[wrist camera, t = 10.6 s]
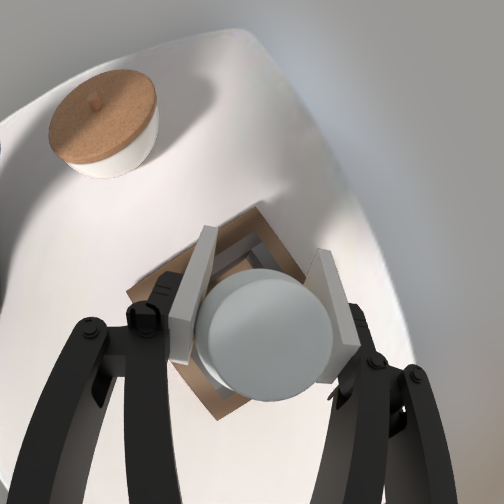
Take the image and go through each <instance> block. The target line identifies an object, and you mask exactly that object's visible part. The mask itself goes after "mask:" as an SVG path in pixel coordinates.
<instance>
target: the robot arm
mask: <svg viewBox="0 0 504 504" xmlns="http://www.w3.org/2000/svg"><path fill="white" fill-rule="evenodd" d="M0 152H1V145H0ZM217 235H218V228H215V227H210V226H205V225H204V227H203V230H202V232H201V234H200V237H199V239H198V241H197V244H196V246H195V249H194V251H193V254H192V256H191V259H190V261H189V264H188V266H187V269H186V271H185V274H180V273H176V272H171V271H165V272H164V273H163V274H162V275H160V276H159V277H158V279H157V281H156V283H155V286H154V287H153V289H152V293H151V294H150V296H149V298H148V300H144V301H138V302H135V303H133V304H132V305H131V306H129V307H128V309H127V312H126V318H127V324H128V325H127V326H122V327H107V325H106V324H105V322H104V321H103V320H101V319H99V318H97V317H87V318H84V319H82V320H80V321H79V322H78V323H77V324H76V326H75V327H74V329H73V331H72V333H71V334H70V336H69V338H68V340H67V342H66V344H65V346H64V348H63V349H62V351H61V353H60V355H59V357H58V359H57V361H56V363H55V365H54V367H53V370H52V372H51V374H50V376H49V378H48V380H47V382H46V384H45V387H44V389H43V391H42V393H41V396H40V398H39V400H38V403H37V405H36V408H35V410H34V413H33V415H32V418H31V420H30V423H29V426H28V428H27V431H26V434H25V437H24V440H23V443H22V446H21V449H20V452H19V455H18V459H17V462H16V465H15V469H14V473H13V476H12V480H11V485H10V489H9V493H8V499H7V503H6V504H83V498H84V493H85V489H86V484H87V479H88V475H89V471H90V467H91V463H92V459H93V455H94V451H95V447H96V444H97V440H98V436H99V433H100V429H101V426H102V423H103V419H104V416H105V413H106V410H107V406H108V403H109V400H110V397H111V394H112V391H113V388H114V385H115V382H116V379H117V377H125V385H124V445H125V464H126V477H127V487H128V496H129V504H183V503H182V497H181V492H180V486H179V480H178V474H177V468H176V461H175V454H174V446H173V437H172V428H171V418H170V407H169V394H168V379H167V362H168V359H169V360H170V361H171V362H175V363H180V364H184V365H188V363H189V358H190V354H191V350H192V346H193V342H194V338H195V324H196V319H197V315H198V312H199V309H200V307H201V305H202V303H203V301H204V298H205V295H206V291H207V287H208V283H209V280H210V276H211V272H212V267H213V260H214V254H215V247H216V241H217ZM303 286H304V287H305V288H307V289H308V290H309V291H311V292H312V293H313V294H314V295H315V296H316V297H317V298H318V299H319V300H320V301H321V303H322V304H323V306H324V307H325V309H326V311H327V313H328V315H329V318H330V321H331V324H332V329H333V346H332V352H331V356H330V359H329V362H328V364H327V366H326V368H325V370H324V371H323V373H322V374H321V376H320V377H319V378H318V379H317V381H316V383H326V384H332V383H333V382H334V380H335V379H336V378H337V377H338V382H339V385H338V386H337V387H336V388H335V389H334V391H333V392H332V393H331V394H330V395H329V397H328V399H327V400H330V399H331V398H332V397H333V396H334V397H333V403H332V409H331V415H330V420H329V425H328V431H327V436H326V441H325V445H324V450H323V455H322V459H321V463H320V467H319V471H318V475H317V479H316V483H315V487H314V491H313V494H312V498H311V501H310V504H381V501H382V495H383V488H384V486H385V498H386V504H458V503H457V495H456V488H455V481H454V475H453V470H452V465H451V460H450V455H449V450H448V446H447V442H446V438H445V434H444V430H443V426H442V422H441V419H440V415H439V412H438V408H437V405H436V401H435V398H434V395H433V392H432V389H431V386H430V383H429V380H428V377H427V375H426V373H425V371H424V370H423V369H422V368H421V367H419V366H418V365H414V364H410V365H408V366H407V367H406V368H405V369H404V370H401V369H398V368H395V367H392V366H390V365H388V361H387V360H386V358H385V357H384V356H383V355H382V354H381V353H379V352H377V351H376V349H375V346H374V343H373V340H372V337H371V333H370V330H369V328H368V325H367V322H366V319H365V316H364V313H363V311H362V310H361V309H360V307H359V306H358V305H357V304H352V303H348V301H347V298H346V295H345V292H344V289H343V286H342V283H341V280H340V277H339V274H338V271H337V268H336V265H335V262H334V259H333V257H332V254H331V251H329V250H324V249H320V248H317V251H316V254H315V256H314V259H313V262H312V264H311V267H310V269H309V272H308V275H307V277H306V280H305V282H304V285H303ZM403 406H405V410H406V412H403V409H402V407H403Z"/></svg>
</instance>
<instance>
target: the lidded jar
mask: <svg viewBox="0 0 504 504" xmlns="http://www.w3.org/2000/svg"><path fill="white" fill-rule="evenodd" d="M158 127H159V114H158V106H157V97H156V92H155V88H154V85H153V83H152V81H151V80H150V79H149V78H148V77H147V76H145V75H144V74H142V73H139V72H137V71H132V70H114V71H109V72H105V73H102V74H99V75H97V76H94V77H92V78H90V79H89V80H87V81H85V82H83V83H82V84H80V85H79V86H78V87H76V88H75V89H74V90H73V91H72V92H71V93H69V94H68V95H67V96H66V98H65V99H64V100H63V101H62V102H61V104H60V105H59V106H58V108H57V109H56V111H55V113H54V115H53V117H52V120H51V123H50V127H49V143H50V145H51V148H52V149H53V151H54V152H55V153H56V154H57V156H59V157H60V158H61V159H62V160H64V161H65V162H66V163H67V164H68V165H69V166H70V167H71V168H72V169H74V170H75V171H77V172H78V173H80V174H82V175H84V176H86V177H89V178H93V179H100V180H106V179H113V178H117V177H120V176H123V175H125V174H127V173H129V172H131V171H132V170H134V169H135V168H136V167H138V166H139V165H140V164H141V163H142V162H143V161H144V160H145V159H146V157H147V156H148V154H149V153H150V152H151V150H152V148H153V146H154V143H155V140H156V137H157V134H158Z"/></svg>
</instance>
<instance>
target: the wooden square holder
mask: <svg viewBox="0 0 504 504" xmlns="http://www.w3.org/2000/svg"><path fill="white" fill-rule="evenodd" d="M195 246H196V245H194V246H193V247H191V248H190V249H188V250H187V251H185V252H184V253H182V254H180V255H179V256H177V257H176V258H174V259H173V260H171V261H170V262H168V263H167V264H165V265H164V266H162V267H161V268H159V269H158V270H156V271H155V272H153V273H152V274H151V275H149V276H148V277H146V278H145V279H143V280H142V281H140V282H139V283H137V284H136V285H134V286H133V287H132V288H130V289H129V290H127V291H126V293H127V294H128V296H129V298H130V299H131V301H132V303H135V302H138V301H144V300H148V298H149V296H150V294H151V293H152V289H153V287H154V286H155V283H156V281H157V279H158V277H159V276H160V275H162V274H163V273H164V272H165V271H171V272H176V273H180V274H185V271H186V269H187V266H188V264H189V261H190V259H191V256H192V254H193V251H194V249H195ZM249 269H270V270H275V271H279V272H282V273H284V274H287V275H289V276H291V277H292V278H294V279H295V280H297V281H298V282H300V283H301V284H302V285H304V282H305V280H306V277H305V275H304V274H303V272H302V271H301V269H300V268H299V267H298V265H297V264H296V262H295V261H294V259H293V258H292V257H291V255H290V254H289V252H288V251H287V249H286V248H285V247H284V245H283V244H282V242H281V241H280V240H279V238H278V237H277V235H276V234H275V233H274V231H273V230H272V228H271V227H270V226H269V224H268V223H267V222H266V220H265V219H264V217H263V216H262V215H261V213H260V212H259V211H258V209H257V208H256V207H254V208H253V209H251V210H249V211H248V212H246V213H245V214H243V215H241V216H240V217H238V218H237V219H235V220H233V221H232V222H230V223H229V224H227V225H225V226H224V227H222V228H221V229H219V230H218V235H217V241H216V247H215V254H214V260H213V267H212V272H211V276H210V280H209V283H208V287H207V291H206V295H205V298H206V296H207V295H208V294H209V292H210V291H211V290H212V289H213V288H214V287H215V286H216V285H217V284H218V283H220V282H221V281H222V280H224V279H226V278H227V277H229V276H231V275H233V274H235V273H238V272H241V271H245V270H249ZM205 298H204V299H205ZM171 363H172V364H173V366H174V367H175V368H176V370H177V371H178V372H179V374H180V375H181V376H182V378H183V379H184V380H185V382H186V383H187V384H188V386H189V387H190V388H191V390H192V391H193V392H194V393H195V395H196V396H197V397H198V398H199V400H200V401H201V402H202V403H203V405H204V406H205V407H206V408H207V409H208V411H209V412H210V413H211V414H212V415H213V417H214V418H215V419H216V420H217V421H218V420H219V419H221V418H223V417H224V416H226V415H228V414H229V413H231V412H233V411H234V410H236V409H238V408H239V407H241V406H242V405H244V404H245V403H247V402H248V401H250V400H252V399H250V398H247V397H245V396H242V395H240V394H238V393H237V392H235V391H233V390H231V389H229V388H227V387H225V386H224V385H222V384H221V383H219V382H218V381H217V380H216V379H215V378H214V377H213V376H212V375H211V374H210V373H209V372H208V371H207V369H206V368H205V366H204V365H203V363H202V361H201V359H200V357H199V354H198V351H197V347H196V342H195V338H194V342H193V346H192V350H191V354H190V358H189V363H188V365H184V364H180V363H175V362H171Z"/></svg>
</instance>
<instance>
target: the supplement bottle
mask: <svg viewBox="0 0 504 504" xmlns="http://www.w3.org/2000/svg"><path fill="white" fill-rule="evenodd" d="M195 342H196V347H197V351H198V354H199V357H200V359H201V361H202V363H203V365H204V366H205V368H206V369H207V371H208V372H209V373H210V374H211V375H212V376H213V377H214V378H215V379H216V380H217V381H218V382H219V383H221V384H222V385H224V386H225V387H227V388H229V389H231V390H233V391H235V392H237V393H238V394H240V395H242V396H245V397H247V398H250V399H253V400H258V401H265V402H269V401H280V400H285V399H289V398H291V397H294V396H296V395H298V394H300V393H302V392H303V391H305V390H306V389H308V388H309V387H310V386H311V385H312V384H314V383H315V382H316V381H317V379H318V378H319V377H320V376H321V374H322V373H323V371H324V370H325V368H326V366H327V364H328V362H329V359H330V356H331V352H332V346H333V329H332V324H331V321H330V318H329V315H328V313H327V311H326V309H325V307H324V306H323V304H322V303H321V301H320V300H319V299H318V298H317V297H316V296H315V295H314V294H313V293H312V292H311V291H309V290H308V289H307V288H305V287H304V286H303V285H302V284H301V283H300V282H298V281H297V280H295V279H294V278H292V277H291V276H289V275H287V274H284V273H282V272H279V271H275V270H270V269H249V270H245V271H241V272H238V273H235V274H233V275H231V276H229V277H227V278H226V279H224V280H222V281H221V282H220V283H218V284H217V285H216V286H215V287H214V288H213V289H212V290H211V291H210V292H209V294H208V295H207V296H206V298H205V299H204V301H203V303H202V305H201V307H200V309H199V312H198V315H197V319H196V324H195Z"/></svg>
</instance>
